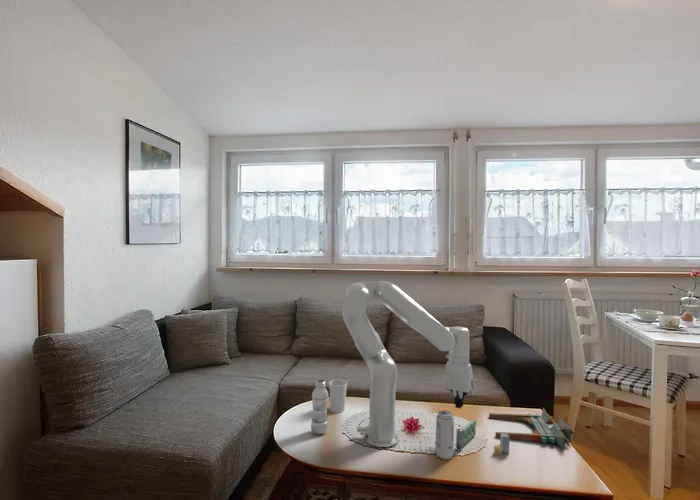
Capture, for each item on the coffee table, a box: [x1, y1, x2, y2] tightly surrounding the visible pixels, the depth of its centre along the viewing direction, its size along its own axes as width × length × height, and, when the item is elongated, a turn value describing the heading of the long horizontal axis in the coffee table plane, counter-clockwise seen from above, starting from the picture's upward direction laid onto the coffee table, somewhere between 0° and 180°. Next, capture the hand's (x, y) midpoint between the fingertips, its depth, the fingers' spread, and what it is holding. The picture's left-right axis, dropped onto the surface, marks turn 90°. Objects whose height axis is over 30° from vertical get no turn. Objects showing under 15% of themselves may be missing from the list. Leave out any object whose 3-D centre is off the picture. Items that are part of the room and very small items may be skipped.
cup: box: [328, 379, 348, 414], centre depth 176 cm, size 8×8×12 cm
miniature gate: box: [488, 407, 577, 451], centre depth 160 cm, size 27×6×30 cm
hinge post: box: [455, 428, 464, 450], centre depth 144 cm, size 2×2×7 cm
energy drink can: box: [435, 409, 455, 460], centre depth 139 cm, size 6×6×15 cm
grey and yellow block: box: [493, 434, 510, 456], centre depth 142 cm, size 5×3×6 cm, turn 86°
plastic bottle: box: [310, 379, 330, 435], centre depth 154 cm, size 6×7×20 cm
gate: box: [461, 419, 477, 447], centre depth 150 cm, size 12×1×6 cm, turn 141°
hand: (459, 406), depth 153 cm, fingers closed
